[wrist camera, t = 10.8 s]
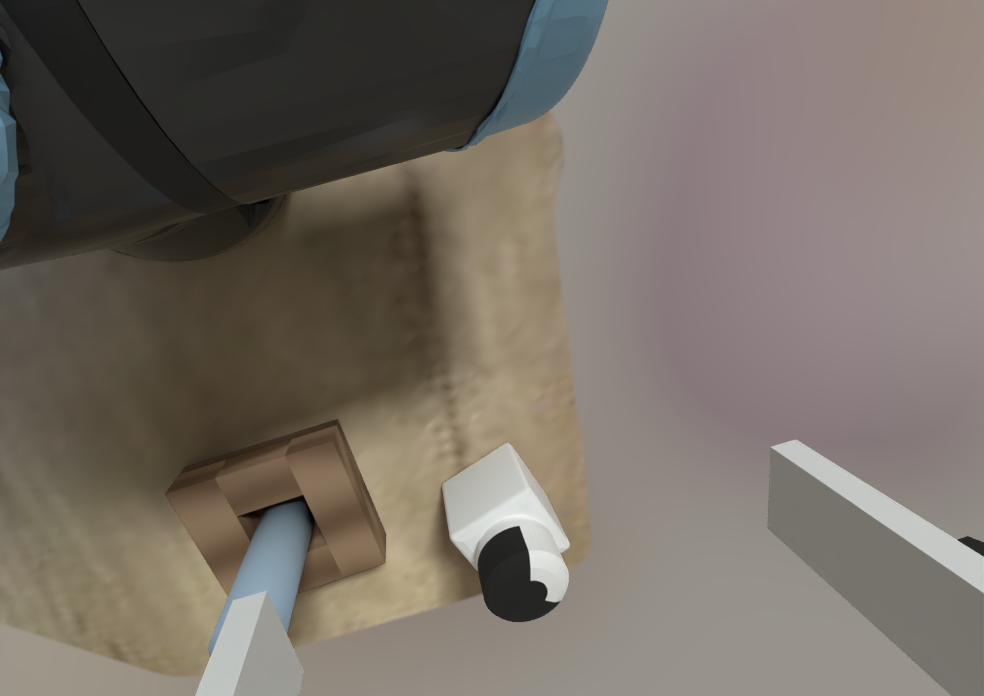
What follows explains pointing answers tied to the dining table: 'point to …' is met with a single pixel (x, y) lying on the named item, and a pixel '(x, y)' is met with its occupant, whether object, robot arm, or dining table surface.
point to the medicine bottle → (508, 535)
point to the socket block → (275, 478)
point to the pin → (274, 559)
